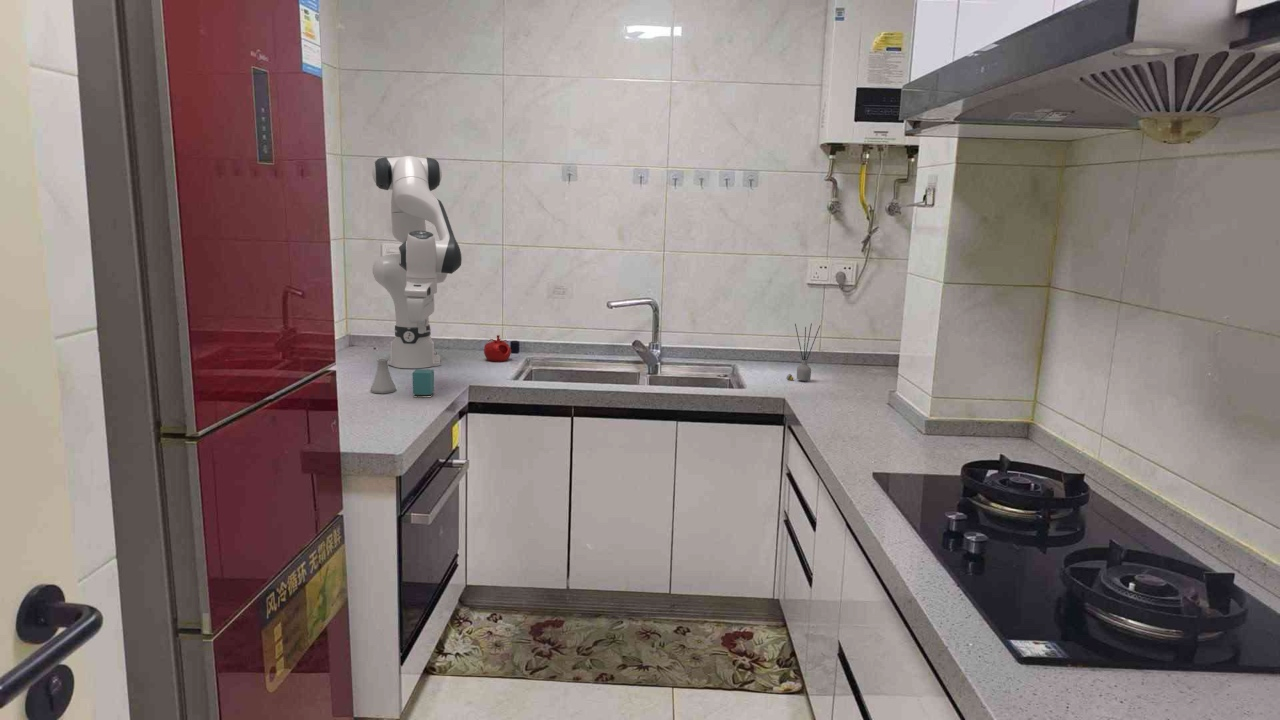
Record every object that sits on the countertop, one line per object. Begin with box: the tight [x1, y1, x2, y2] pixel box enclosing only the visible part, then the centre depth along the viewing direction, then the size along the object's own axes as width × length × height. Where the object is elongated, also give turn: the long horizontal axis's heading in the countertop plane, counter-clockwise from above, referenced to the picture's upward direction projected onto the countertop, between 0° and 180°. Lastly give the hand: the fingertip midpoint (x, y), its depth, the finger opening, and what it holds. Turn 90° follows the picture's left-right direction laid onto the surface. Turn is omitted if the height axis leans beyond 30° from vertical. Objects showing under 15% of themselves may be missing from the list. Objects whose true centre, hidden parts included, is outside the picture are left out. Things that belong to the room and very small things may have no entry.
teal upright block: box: [411, 368, 435, 396], centre depth 248 cm, size 5×5×7 cm
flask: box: [369, 357, 397, 394], centre depth 252 cm, size 7×7×10 cm
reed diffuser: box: [786, 322, 821, 381], centre depth 281 cm, size 10×7×20 cm
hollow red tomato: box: [483, 334, 512, 362], centre depth 306 cm, size 10×10×9 cm
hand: (422, 332), depth 249 cm, fingers closed
